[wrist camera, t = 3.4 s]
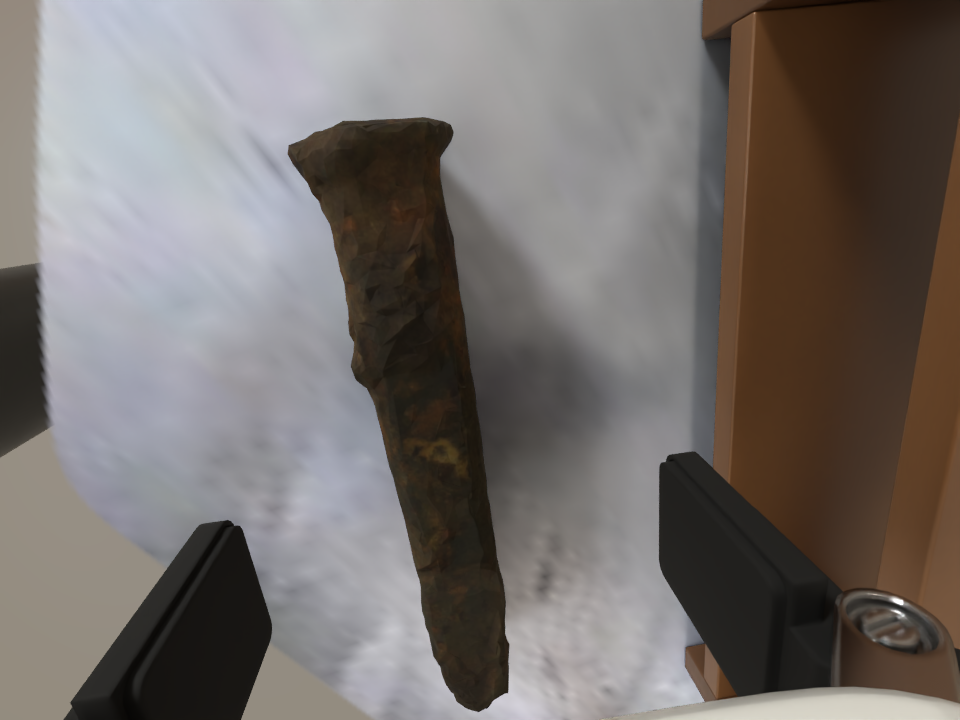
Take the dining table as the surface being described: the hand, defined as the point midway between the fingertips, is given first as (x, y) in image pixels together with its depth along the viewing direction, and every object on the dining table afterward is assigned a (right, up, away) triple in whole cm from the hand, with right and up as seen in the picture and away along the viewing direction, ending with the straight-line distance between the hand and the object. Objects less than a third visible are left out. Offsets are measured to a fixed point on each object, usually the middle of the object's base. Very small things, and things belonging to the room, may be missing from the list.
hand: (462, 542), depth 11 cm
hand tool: (-1, +2, +7) cm, 7 cm away
